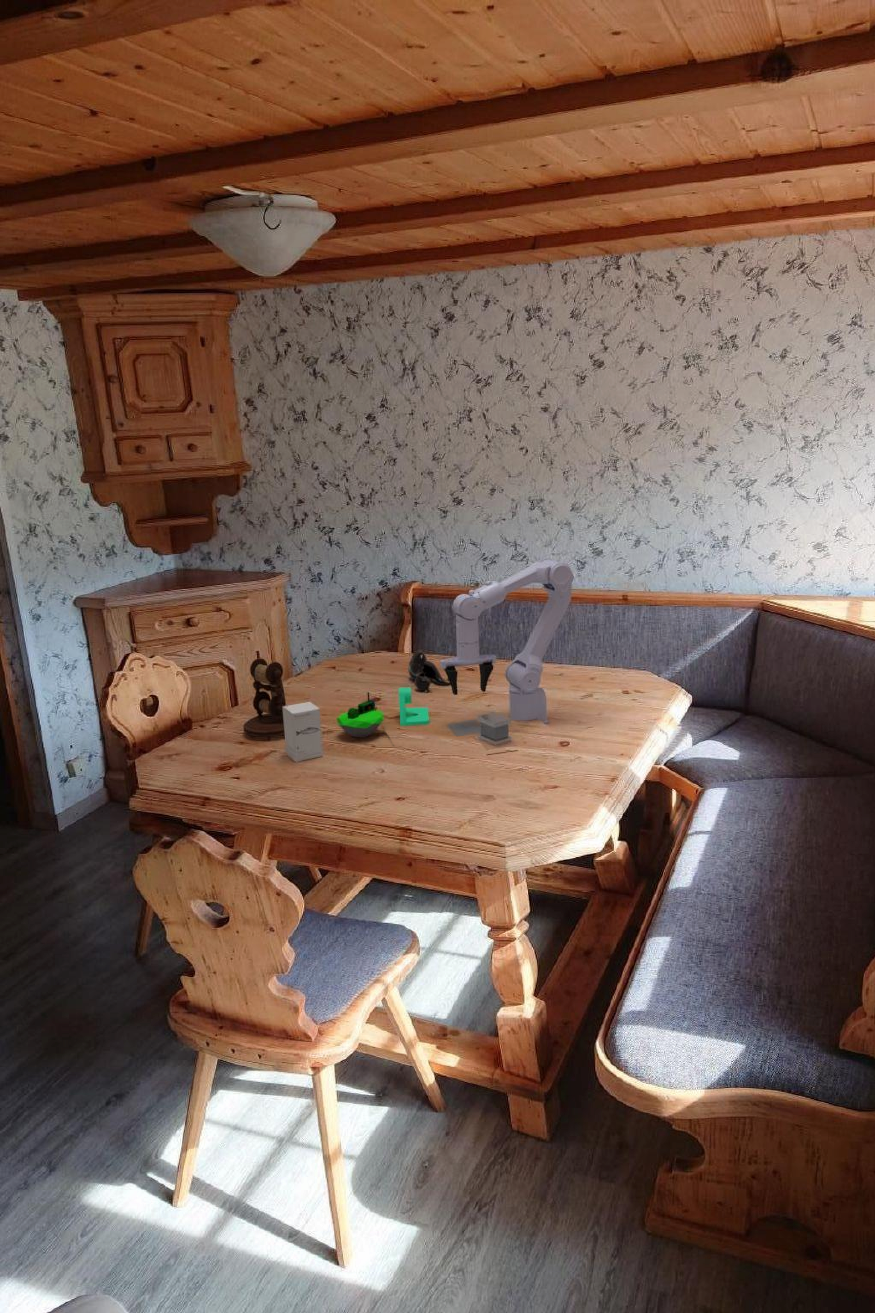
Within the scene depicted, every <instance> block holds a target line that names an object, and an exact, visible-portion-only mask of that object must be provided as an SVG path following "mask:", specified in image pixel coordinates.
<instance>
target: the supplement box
mask: <svg viewBox="0 0 875 1313" xmlns="http://www.w3.org/2000/svg"><path fill="white" fill-rule="evenodd" d="M282 708H283V720H284V731H285V734H284V743H285V753H286V755H287V756H289V757H290V759H292V760H293V761H294V762H295V763H298V762H300V761H306V760H311V759H314V758H322V757H323V756H324V750H323V739H322V738H323V737H322V726H321V724H322V723H321V711H320V710H321V709H320V707H318V706H317V705H315V704H314V703H313V702H311V701H305V702H301V703H294V704H289V705H286V706H283V707H282ZM321 756H322V757H321Z"/></svg>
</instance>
